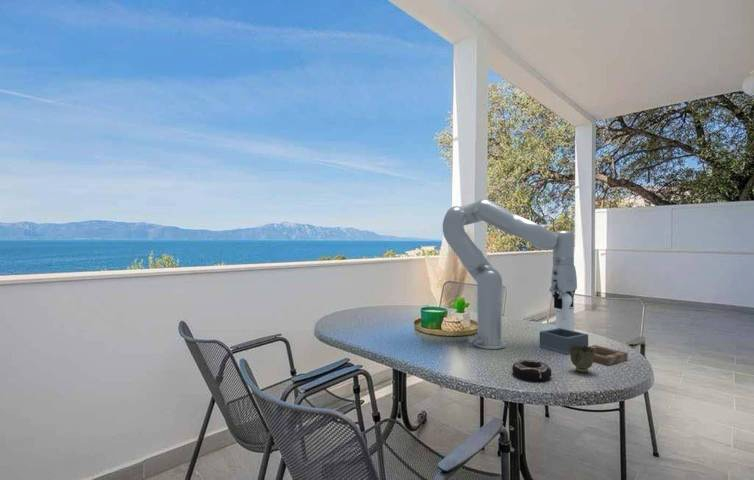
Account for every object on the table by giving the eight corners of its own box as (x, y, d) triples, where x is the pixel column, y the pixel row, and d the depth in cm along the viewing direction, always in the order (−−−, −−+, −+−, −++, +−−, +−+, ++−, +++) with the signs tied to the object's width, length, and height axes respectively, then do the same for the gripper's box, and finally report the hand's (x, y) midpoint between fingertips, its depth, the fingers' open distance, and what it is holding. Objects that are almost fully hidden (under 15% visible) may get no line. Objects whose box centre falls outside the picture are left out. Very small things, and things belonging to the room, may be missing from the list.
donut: (511, 380, 122) (511, 367, 122) (513, 368, 133) (513, 356, 133) (551, 385, 118) (551, 372, 118) (551, 372, 128) (551, 360, 128)
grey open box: (568, 354, 147) (568, 338, 147) (539, 346, 157) (539, 331, 157) (588, 349, 153) (588, 334, 153) (559, 342, 164) (559, 327, 164)
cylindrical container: (575, 337, 170) (575, 280, 170) (558, 337, 172) (558, 280, 171) (571, 333, 177) (571, 278, 177) (554, 333, 179) (554, 278, 178)
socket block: (608, 365, 134) (608, 358, 134) (575, 356, 144) (575, 349, 144) (627, 360, 140) (627, 353, 140) (594, 351, 150) (594, 345, 150)
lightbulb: (565, 322, 151) (565, 293, 151) (551, 319, 156) (551, 291, 156) (575, 320, 154) (575, 292, 154) (562, 317, 159) (561, 290, 159)
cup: (564, 368, 132) (564, 344, 132) (585, 367, 132) (585, 344, 132) (578, 376, 124) (577, 351, 124) (600, 375, 125) (599, 350, 125)
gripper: (557, 263, 147) (558, 311, 147) (585, 261, 156) (586, 306, 156) (540, 262, 154) (541, 308, 154) (568, 260, 162) (568, 304, 162)
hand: (563, 307), depth 155 cm, fingers closed on lightbulb, 6 cm apart
